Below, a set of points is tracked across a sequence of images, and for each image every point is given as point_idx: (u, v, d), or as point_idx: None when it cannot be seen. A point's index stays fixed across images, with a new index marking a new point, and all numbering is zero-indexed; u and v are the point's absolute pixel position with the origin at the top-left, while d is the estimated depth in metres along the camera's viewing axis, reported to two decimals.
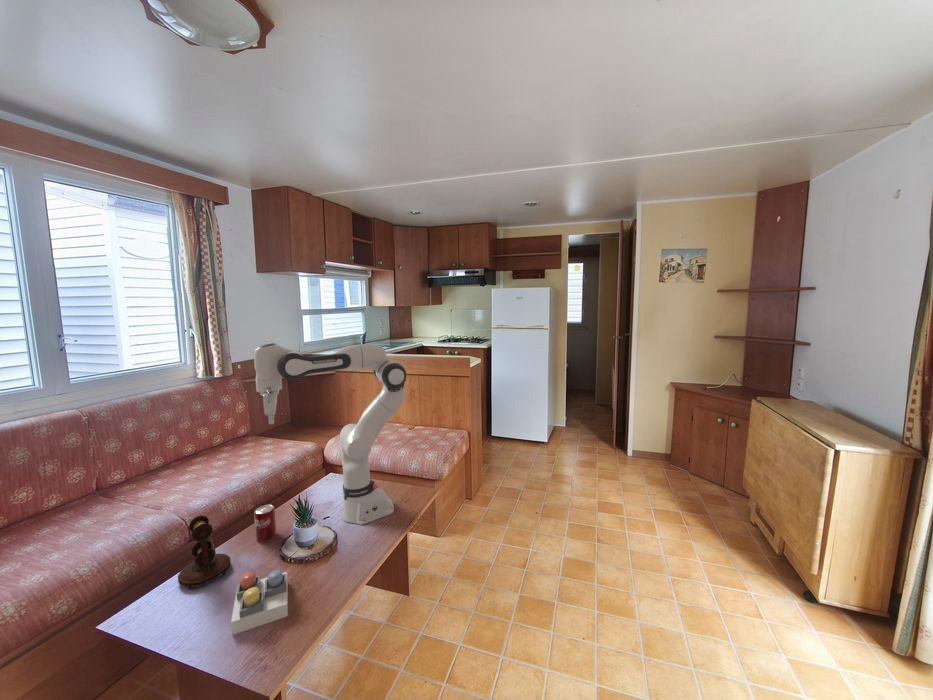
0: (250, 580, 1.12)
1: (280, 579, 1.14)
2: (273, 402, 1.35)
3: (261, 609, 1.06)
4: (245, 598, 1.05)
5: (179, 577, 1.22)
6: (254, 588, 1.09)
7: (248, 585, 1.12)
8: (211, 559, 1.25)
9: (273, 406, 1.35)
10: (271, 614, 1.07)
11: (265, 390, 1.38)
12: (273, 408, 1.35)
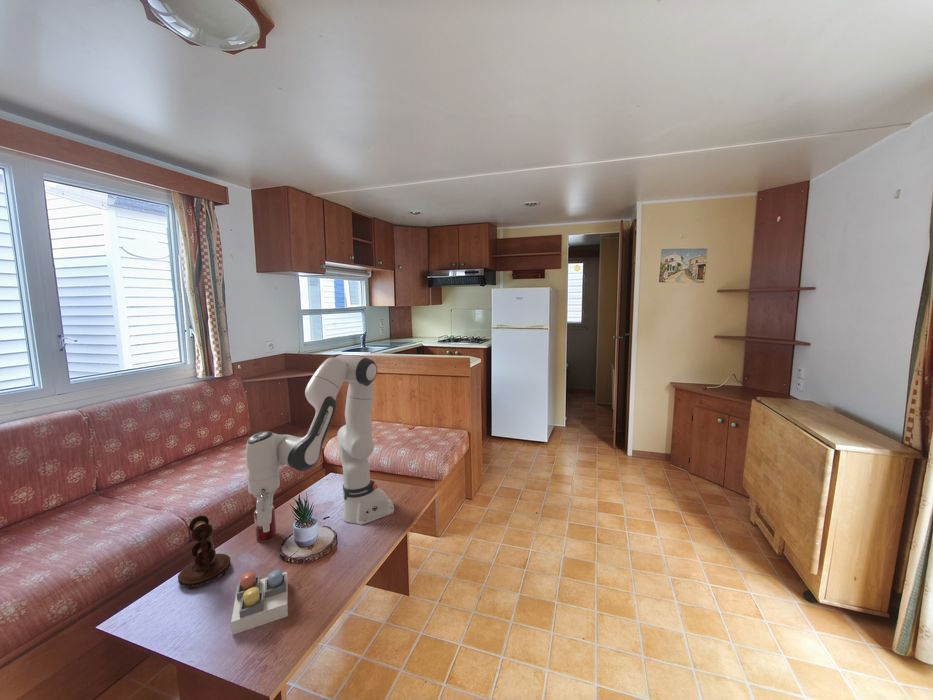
0: (250, 580, 1.12)
1: (280, 579, 1.14)
2: (268, 510, 1.10)
3: (261, 609, 1.06)
4: (245, 598, 1.05)
5: (179, 577, 1.22)
6: (254, 588, 1.09)
7: (248, 585, 1.12)
8: (211, 559, 1.25)
9: (268, 515, 1.10)
10: (271, 614, 1.07)
11: (259, 492, 1.14)
12: (268, 517, 1.10)
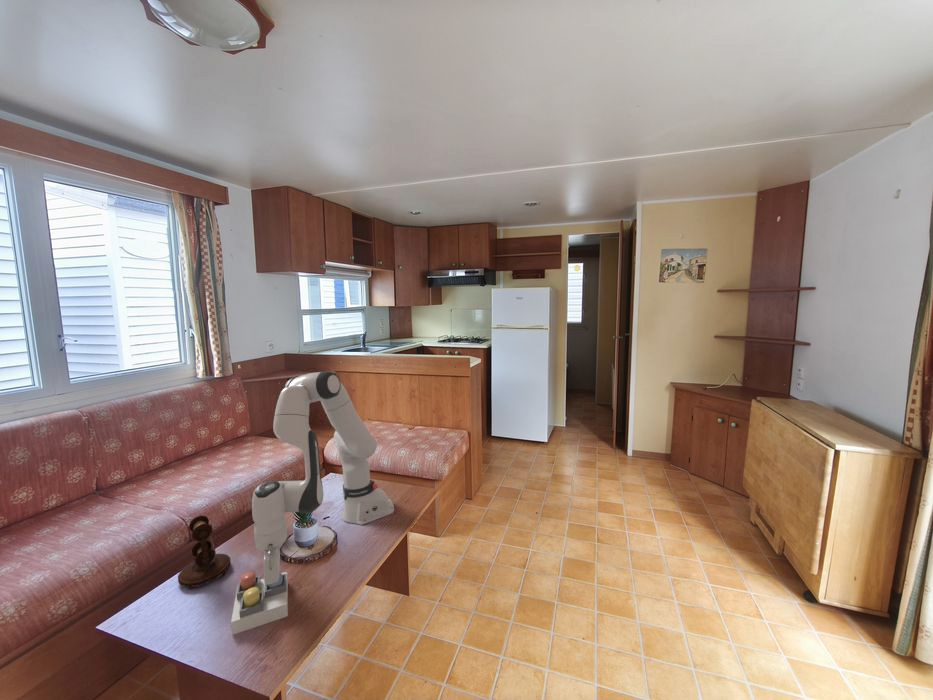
0: (250, 580, 1.12)
1: (281, 582, 1.14)
2: (276, 568, 1.05)
3: (261, 609, 1.06)
4: (245, 598, 1.05)
5: (179, 577, 1.22)
6: (254, 588, 1.09)
7: (248, 585, 1.12)
8: (211, 559, 1.25)
9: (276, 573, 1.05)
10: (271, 614, 1.07)
11: (266, 547, 1.09)
12: (276, 576, 1.05)
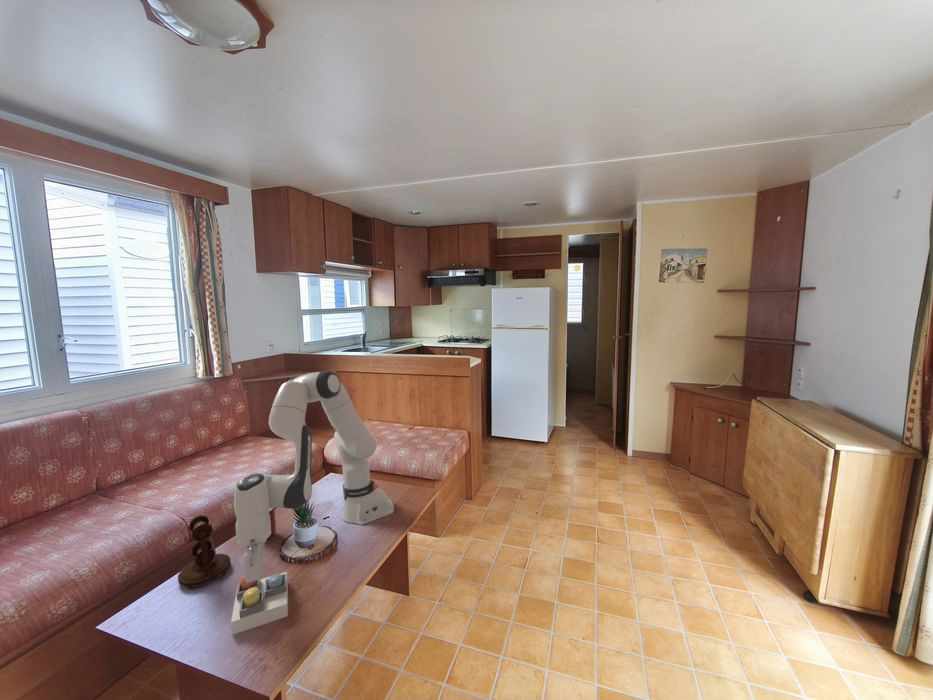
0: None
1: (281, 583, 1.14)
2: (257, 565, 1.00)
3: (261, 609, 1.06)
4: (245, 598, 1.05)
5: (179, 577, 1.22)
6: (254, 588, 1.09)
7: (248, 585, 1.12)
8: (211, 559, 1.25)
9: (257, 570, 1.00)
10: (271, 614, 1.07)
11: (248, 543, 1.03)
12: (257, 573, 1.00)
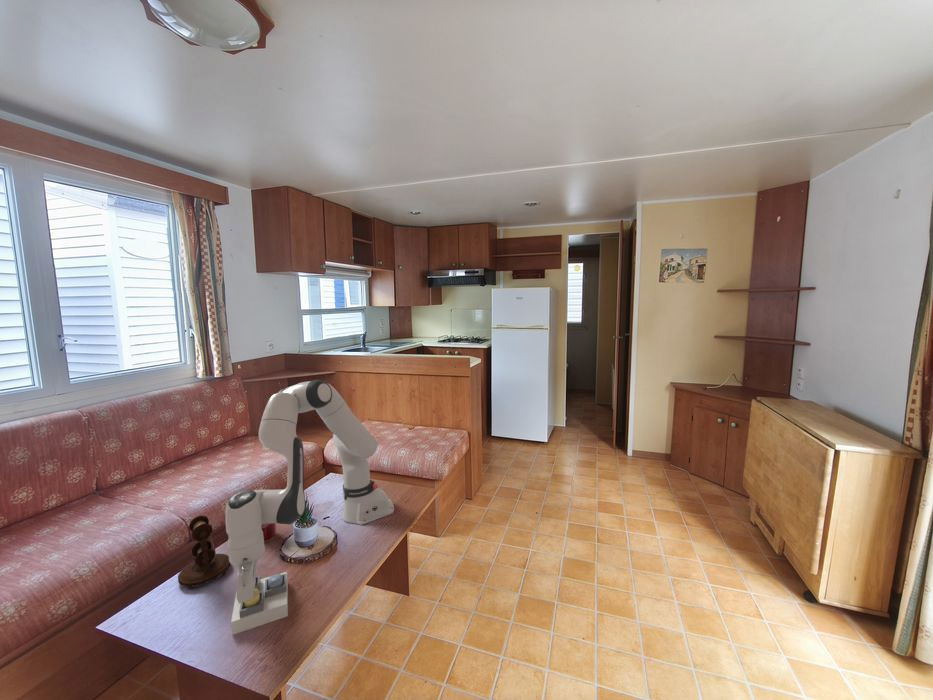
0: None
1: (281, 583, 1.14)
2: (250, 584, 0.98)
3: (261, 609, 1.06)
4: None
5: (179, 577, 1.22)
6: (254, 589, 1.09)
7: None
8: (211, 559, 1.25)
9: (250, 590, 0.98)
10: (271, 614, 1.07)
11: (240, 562, 1.01)
12: (250, 593, 0.98)
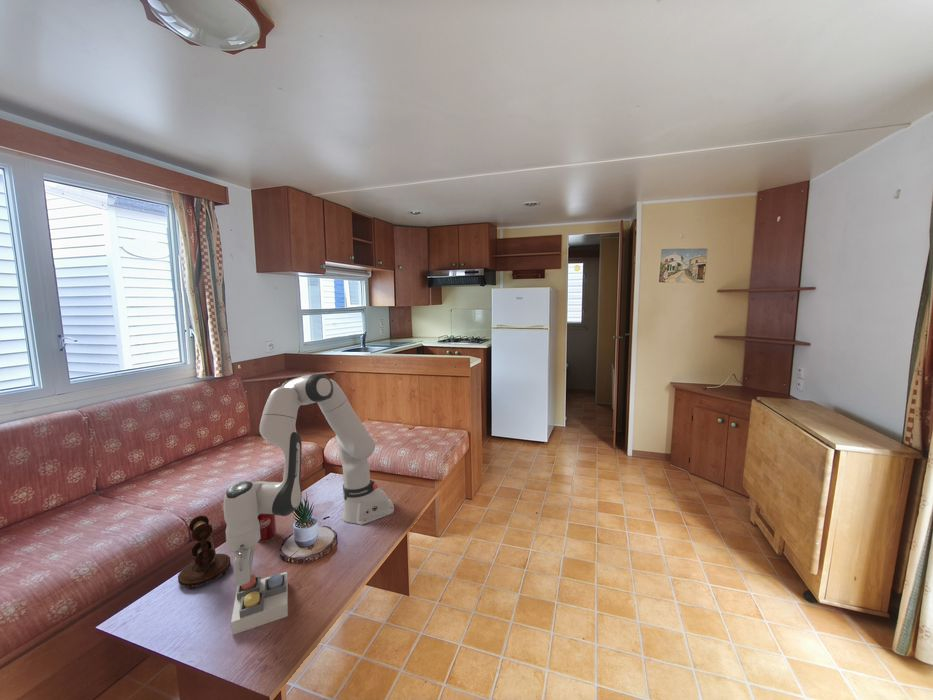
0: (250, 582, 1.12)
1: (281, 583, 1.14)
2: (246, 569, 1.05)
3: (261, 609, 1.06)
4: (245, 602, 1.05)
5: (179, 577, 1.22)
6: (254, 592, 1.09)
7: (249, 588, 1.12)
8: (211, 559, 1.25)
9: (246, 574, 1.05)
10: (271, 614, 1.07)
11: (237, 548, 1.08)
12: (247, 577, 1.05)
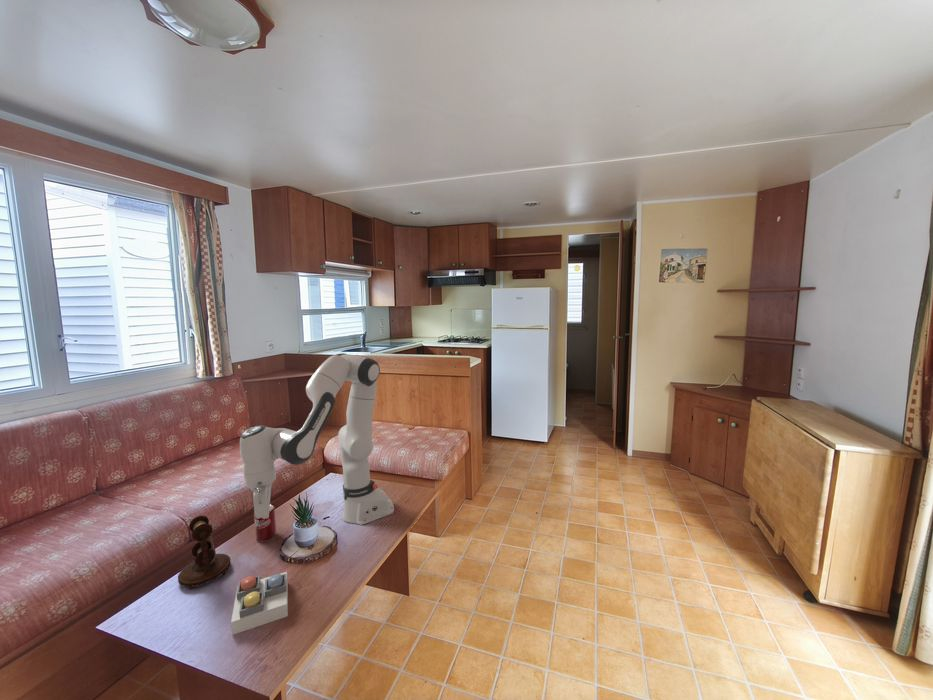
0: (250, 584, 1.12)
1: (281, 583, 1.14)
2: (265, 502, 1.12)
3: (261, 609, 1.06)
4: (245, 602, 1.05)
5: (179, 577, 1.22)
6: (254, 592, 1.09)
7: None
8: (211, 559, 1.25)
9: (266, 507, 1.12)
10: (271, 614, 1.07)
11: (255, 485, 1.15)
12: (266, 510, 1.12)
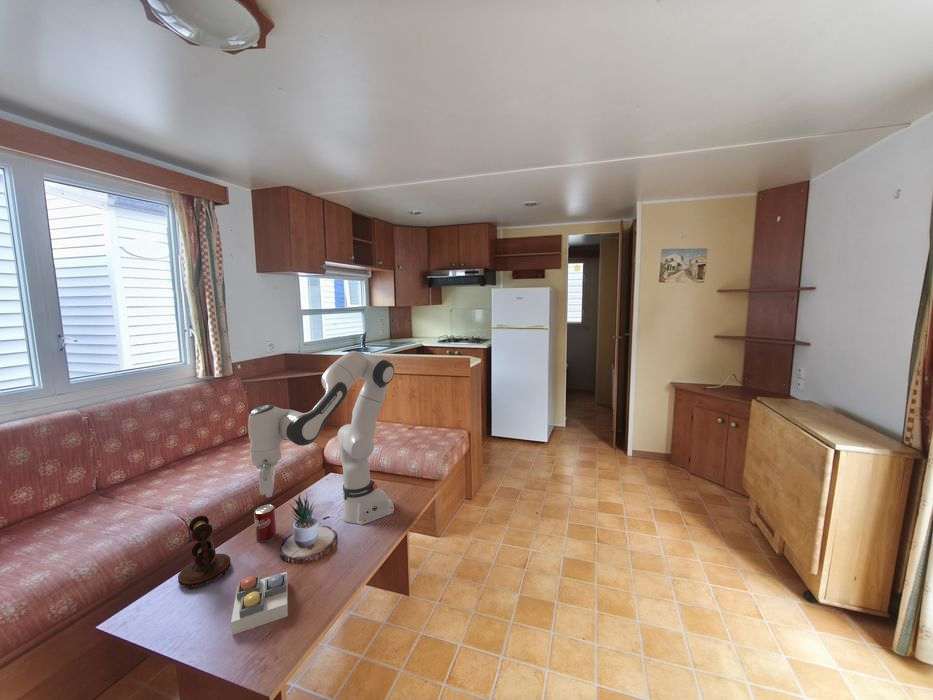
0: (250, 584, 1.12)
1: (281, 583, 1.14)
2: (270, 479, 1.14)
3: (261, 609, 1.06)
4: (245, 602, 1.05)
5: (179, 577, 1.22)
6: (254, 592, 1.09)
7: None
8: (211, 559, 1.25)
9: (270, 484, 1.13)
10: (271, 614, 1.07)
11: (261, 463, 1.17)
12: (271, 487, 1.13)
